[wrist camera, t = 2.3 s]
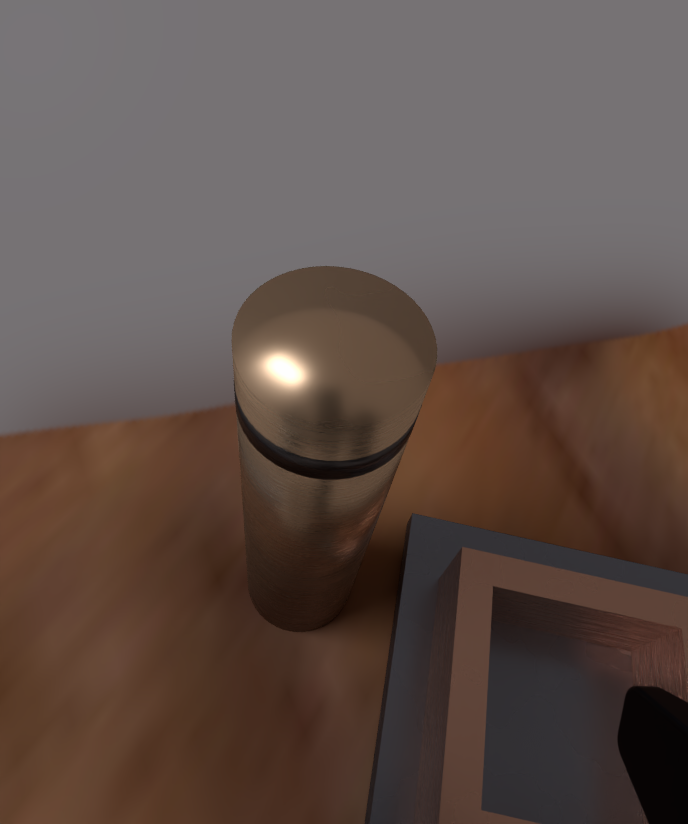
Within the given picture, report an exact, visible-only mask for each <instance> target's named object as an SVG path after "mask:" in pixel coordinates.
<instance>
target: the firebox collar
mask: <svg viewBox="0 0 688 824" xmlns="http://www.w3.org/2000/svg"><path fill="white" fill-rule="evenodd" d="M632 686H656V687H660V688H662V689H664V690H666V691H668V692H670V693H671V694H673V695H675V696H677V697H679V698H681V699H682V700H684V701H686V702H688V575H687V574H683V573H678V572H674V571H669V570H665V569H661V568H656V567H652V566H647V565H643V564H638V563H634V562H629V561H625V560H620V559H616V558H611V557H607V556H602V555H598V554H593V553H589V552H584V551H580V550H575V549H571V548H566V547H562V546H557V545H553V544H548V543H544V542H539V541H535V540H530V539H526V538H521V537H517V536H512V535H508V534H503V533H499V532H494V531H490V530H485V529H481V528H476V527H472V526H467V525H463V524H458V523H454V522H449V521H445V520H440V519H436V518H431V517H427V516H422V515H418V514H413V513H412V515H411V517H410V519H409V521H408V524H407V529H406V536H405V543H404V550H403V557H402V564H401V571H400V578H399V585H398V592H397V599H396V606H395V613H394V620H393V627H392V634H391V642H390V649H389V656H388V663H387V670H386V677H385V684H384V691H383V698H382V705H381V712H380V719H379V726H378V733H377V740H376V747H375V754H374V761H373V768H372V775H371V782H370V789H369V797H368V804H367V811H366V818H365V824H649V823H648V821H647V818H646V816H645V814H644V811H643V809H642V806H641V804H640V802H639V799H638V797H637V794H636V792H635V790H634V787H633V785H632V782H631V780H630V777H629V775H628V773H627V770H626V768H625V765H624V763H623V761H622V758H621V756H620V753H619V749H618V743H617V734H618V729H619V724H620V719H621V714H622V709H623V704H624V699H625V695H626V692H627V690H628V689H629V688H630V687H632Z"/></svg>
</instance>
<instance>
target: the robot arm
mask: <svg viewBox="0 0 688 824" xmlns="http://www.w3.org/2000/svg"><path fill="white" fill-rule="evenodd" d="M617 743H618V749H619V753H620V756H621V758H622V761H623V763H624V765H625V768H626V770H627V773H628V775H629V777H630V780H631V782H632V785H633V787H634V790H635V792H636V794H637V797H638V799H639V802H640V804H641V806H642V809H643V811H644V814H645V816H646V818H647V821H648V823H649V824H688V702H686V701H684V700H682V699H681V698H679V697H677V696H675V695H673V694H671V693H670V692H668V691H666V690H664V689H662V688H660V687H656V686H632V687H630V688H629V689H628V690H627V692H626V695H625V699H624V704H623V709H622V714H621V719H620V724H619V729H618V734H617Z"/></svg>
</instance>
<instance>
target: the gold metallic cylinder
mask: <svg viewBox="0 0 688 824" xmlns="http://www.w3.org/2000/svg"><path fill="white" fill-rule="evenodd" d="M232 353H233V367H234V391H235V405H236V413H237V428H238V443H239V458H240V473H241V488H242V503H243V518H244V533H245V549H246V564H247V579H248V590H249V594H250V597H251V600H252V603H253V604H254V606H255V608H256V609H257V611H258V612H259V613H260V615H261V616H262V617H263V618H264V619H265V620H267V621H268V622H269V623H271V624H273V625H274V626H276V627H278V628H281V629H284V630H288V631H294V632H305V631H311V630H314V629H318V628H320V627H322V626H324V625H326V624H327V623H329V622H330V621H331V620H333V619H334V618H335V617H336V616H337V615H338V614H339V613H340V611H341V610H342V608H343V607H344V605H345V603H346V601H347V599H348V596H349V593H350V591H351V588H352V586H353V583H354V580H355V578H356V575H357V573H358V570H359V567H360V565H361V562H362V559H363V557H364V554H365V552H366V549H367V546H368V544H369V541H370V539H371V536H372V533H373V531H374V528H375V525H376V523H377V520H378V518H379V515H380V512H381V510H382V507H383V504H384V502H385V499H386V497H387V494H388V491H389V489H390V486H391V484H392V481H393V478H394V476H395V473H396V470H397V468H398V465H399V463H400V460H401V457H402V455H403V452H404V450H405V447H406V444H407V442H408V439H409V437H410V435H411V433H412V430H413V427H414V425H415V422H416V420H417V417H418V414H419V411H420V409H421V406H422V402H423V400H424V397H425V395H426V392H427V389H428V387H429V384H430V381H431V379H432V376H433V373H434V370H435V367H436V361H437V344H436V339H435V335H434V332H433V329H432V326H431V324H430V323H429V321H428V318H427V317H426V315H425V314H424V312H423V311H422V309H421V308H420V307H419V306H418V305H417V304H416V303H415V301H414V300H413V299H412V298H410V297H409V296H408V295H407V294H406V293H404V292H403V291H402V290H400V289H399V288H398V287H396V286H395V285H393V284H391V283H389V282H388V281H386V280H384V279H382V278H379V277H377V276H375V275H372V274H369V273H366V272H363V271H359V270H355V269H351V268H344V267H334V266H333V267H332V266H320V267H308V268H302V269H298V270H294V271H290V272H287V273H285V274H282V275H279V276H277V277H275V278H273V279H271V280H269V281H267V282H266V283H264V284H263V285H261V286H260V287H259V288H258V289H256V290H255V291H254V292H253V293H252V294H251V295H250V296H249V297H248V298H247V299H246V301H245V302H244V304H243V305H242V307H241V308H240V310H239V312H238V314H237V316H236V319H235V322H234V326H233V330H232Z"/></svg>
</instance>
